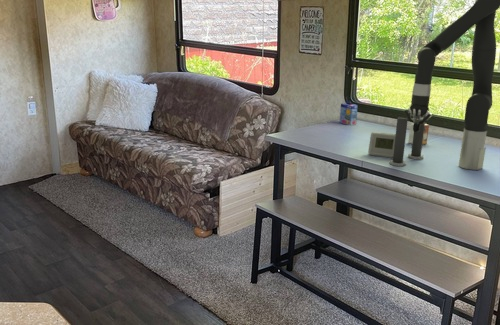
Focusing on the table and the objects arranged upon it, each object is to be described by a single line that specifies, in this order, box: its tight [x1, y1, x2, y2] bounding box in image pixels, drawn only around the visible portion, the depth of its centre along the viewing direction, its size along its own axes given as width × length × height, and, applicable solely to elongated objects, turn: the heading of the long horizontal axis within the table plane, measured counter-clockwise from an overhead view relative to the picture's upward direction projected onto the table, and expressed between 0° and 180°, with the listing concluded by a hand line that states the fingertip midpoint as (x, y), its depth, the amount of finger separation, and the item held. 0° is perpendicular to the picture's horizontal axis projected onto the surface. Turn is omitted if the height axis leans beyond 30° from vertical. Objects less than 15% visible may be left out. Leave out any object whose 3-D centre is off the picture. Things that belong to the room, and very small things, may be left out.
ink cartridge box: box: [339, 100, 359, 126], centre depth 307 cm, size 10×6×14 cm, turn 35°
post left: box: [389, 117, 409, 167], centre depth 221 cm, size 7×7×21 cm
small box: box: [407, 123, 430, 145], centre depth 261 cm, size 8×6×10 cm
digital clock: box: [367, 131, 396, 159], centre depth 236 cm, size 16×9×11 cm, turn 56°
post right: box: [407, 113, 427, 161], centre depth 233 cm, size 7×7×21 cm
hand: (416, 131), depth 224 cm, fingers closed
